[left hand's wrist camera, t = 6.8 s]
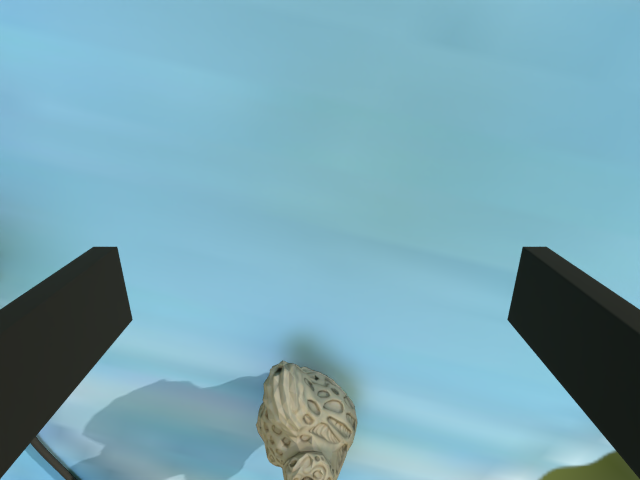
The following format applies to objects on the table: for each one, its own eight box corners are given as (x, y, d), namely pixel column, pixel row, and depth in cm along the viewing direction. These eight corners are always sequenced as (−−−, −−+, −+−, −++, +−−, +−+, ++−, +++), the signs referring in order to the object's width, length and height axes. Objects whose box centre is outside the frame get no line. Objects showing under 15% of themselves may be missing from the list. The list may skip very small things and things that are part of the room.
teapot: (243, 335, 46) (210, 440, 32) (335, 317, 45) (342, 416, 31) (288, 458, 54) (276, 586, 40) (367, 444, 53) (385, 571, 39)
